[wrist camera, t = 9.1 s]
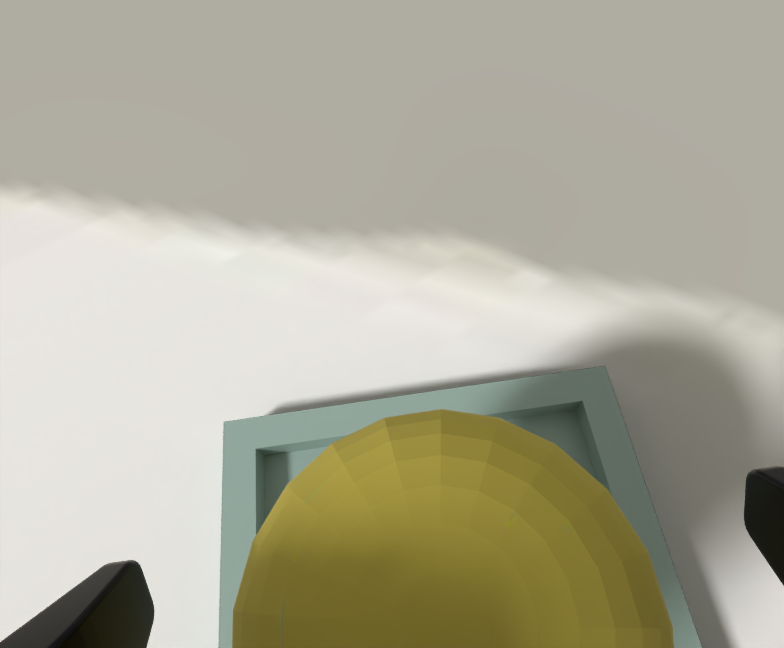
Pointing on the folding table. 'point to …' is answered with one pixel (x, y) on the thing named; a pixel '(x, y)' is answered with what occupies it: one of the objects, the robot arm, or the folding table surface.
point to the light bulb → (448, 547)
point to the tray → (497, 399)
